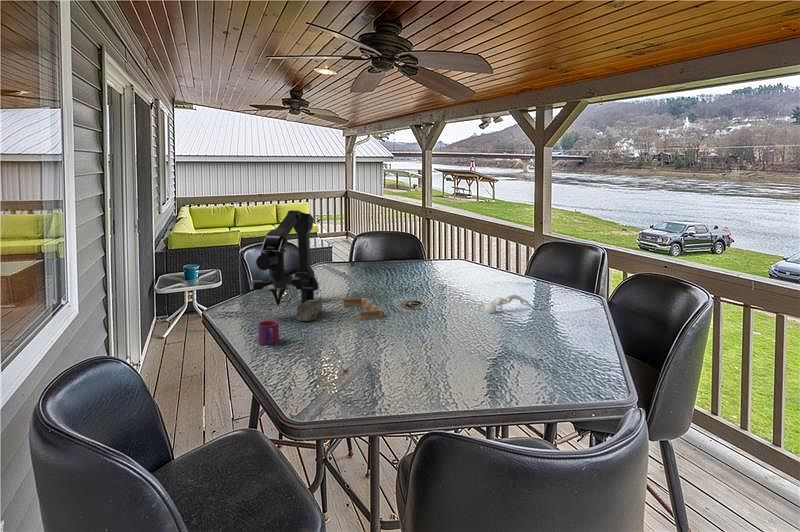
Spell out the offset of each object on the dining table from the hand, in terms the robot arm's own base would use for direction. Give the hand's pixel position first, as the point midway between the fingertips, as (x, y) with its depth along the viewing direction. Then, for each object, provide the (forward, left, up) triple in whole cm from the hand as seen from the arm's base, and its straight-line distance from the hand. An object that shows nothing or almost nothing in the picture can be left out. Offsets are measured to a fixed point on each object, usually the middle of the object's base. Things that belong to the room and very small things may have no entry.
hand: (277, 304), depth 201 cm
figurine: (+20, +95, -7) cm, 97 cm away
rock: (0, +12, -6) cm, 14 cm away
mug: (+27, -8, -6) cm, 29 cm away
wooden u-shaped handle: (0, +34, -6) cm, 34 cm away
